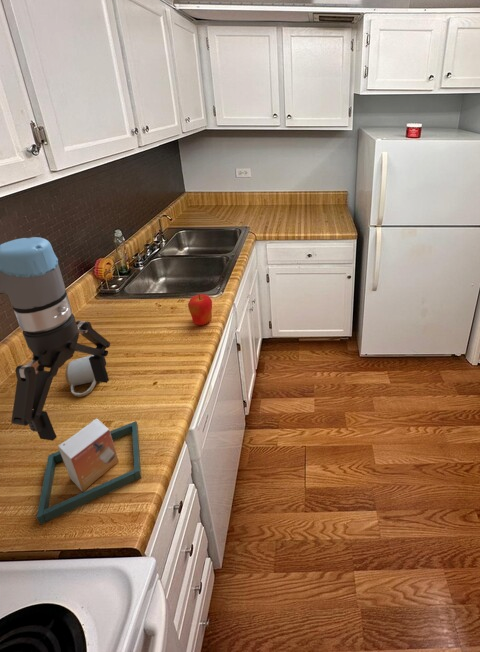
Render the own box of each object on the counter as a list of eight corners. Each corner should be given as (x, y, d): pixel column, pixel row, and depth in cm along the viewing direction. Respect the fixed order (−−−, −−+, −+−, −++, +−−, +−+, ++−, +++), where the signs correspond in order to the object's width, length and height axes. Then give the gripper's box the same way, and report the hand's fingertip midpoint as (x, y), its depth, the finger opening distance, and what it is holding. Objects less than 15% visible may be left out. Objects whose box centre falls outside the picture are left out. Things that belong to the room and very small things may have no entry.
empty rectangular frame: (39, 524, 65) (36, 517, 64) (51, 461, 77) (48, 455, 76) (141, 477, 74) (139, 471, 73) (138, 427, 85) (136, 420, 84)
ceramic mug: (75, 374, 101) (68, 354, 98) (106, 366, 104) (100, 347, 101) (65, 402, 92) (57, 381, 89) (99, 393, 95) (93, 373, 92)
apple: (187, 321, 126) (183, 294, 121) (208, 312, 131) (204, 286, 127) (196, 332, 120) (192, 304, 115) (218, 322, 125) (215, 295, 121)
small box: (82, 493, 71) (69, 460, 67) (69, 478, 73) (56, 445, 69) (119, 461, 77) (109, 429, 73) (106, 448, 80) (96, 417, 76)
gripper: (-6, 376, 48) (38, 472, 56) (115, 287, 71) (134, 364, 79) (-49, 370, 49) (-1, 465, 57) (84, 284, 72) (105, 360, 80)
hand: (77, 406), depth 68 cm, fingers open, 13 cm apart
